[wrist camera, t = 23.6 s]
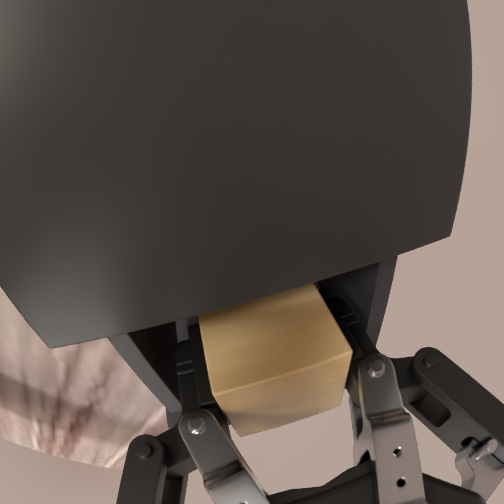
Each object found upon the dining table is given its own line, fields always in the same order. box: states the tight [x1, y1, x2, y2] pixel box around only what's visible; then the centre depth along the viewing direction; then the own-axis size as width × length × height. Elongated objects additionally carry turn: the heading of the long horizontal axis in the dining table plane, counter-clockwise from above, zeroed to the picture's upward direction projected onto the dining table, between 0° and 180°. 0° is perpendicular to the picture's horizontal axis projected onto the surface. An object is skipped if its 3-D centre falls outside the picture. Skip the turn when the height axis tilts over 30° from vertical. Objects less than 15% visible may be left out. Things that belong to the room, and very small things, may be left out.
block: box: [198, 283, 353, 437], centre depth 11 cm, size 4×4×4 cm
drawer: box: [107, 255, 398, 429], centre depth 15 cm, size 18×11×8 cm, turn 8°
